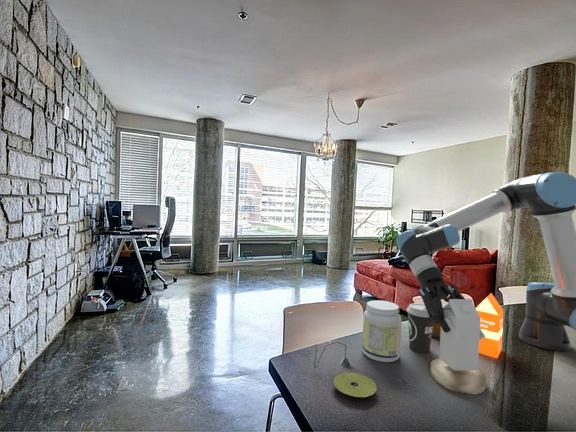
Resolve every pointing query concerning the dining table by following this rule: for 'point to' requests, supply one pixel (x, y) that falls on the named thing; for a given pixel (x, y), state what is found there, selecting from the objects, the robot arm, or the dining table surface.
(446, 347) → the milk carton
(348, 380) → the green disc
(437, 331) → the condiment
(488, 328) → the orange juice
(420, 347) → the coffee cup
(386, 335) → the supplement tub
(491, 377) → the dining table surface
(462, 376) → the birch stand
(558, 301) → the robot arm
